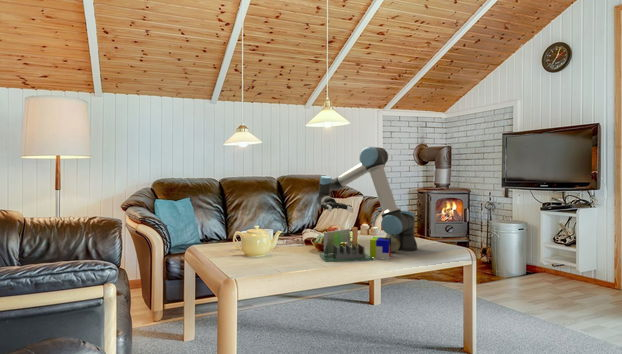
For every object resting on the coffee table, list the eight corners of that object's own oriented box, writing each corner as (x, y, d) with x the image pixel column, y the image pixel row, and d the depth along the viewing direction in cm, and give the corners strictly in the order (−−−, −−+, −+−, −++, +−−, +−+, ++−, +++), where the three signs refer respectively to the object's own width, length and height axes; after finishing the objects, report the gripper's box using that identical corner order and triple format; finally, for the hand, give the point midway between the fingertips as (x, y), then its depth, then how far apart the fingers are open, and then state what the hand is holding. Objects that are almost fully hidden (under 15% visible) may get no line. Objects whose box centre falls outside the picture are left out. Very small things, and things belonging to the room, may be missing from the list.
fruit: (401, 250, 246) (398, 230, 248) (401, 251, 237) (397, 230, 239) (384, 252, 248) (381, 232, 250) (383, 253, 239) (380, 232, 241)
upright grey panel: (347, 249, 244) (347, 228, 244) (350, 249, 242) (350, 229, 242) (322, 253, 231) (323, 232, 230) (325, 254, 229) (326, 232, 229)
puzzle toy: (388, 259, 225) (388, 240, 224) (370, 257, 228) (370, 239, 228) (390, 255, 234) (391, 237, 234) (373, 254, 237) (373, 236, 237)
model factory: (364, 254, 237) (364, 226, 237) (372, 259, 222) (373, 230, 222) (319, 255, 233) (319, 227, 232) (325, 261, 218) (325, 231, 217)
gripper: (346, 209, 268) (360, 216, 248) (309, 207, 260) (321, 215, 240) (347, 198, 268) (361, 204, 248) (310, 196, 259) (322, 202, 239)
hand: (341, 209), depth 244 cm, fingers open, 13 cm apart
